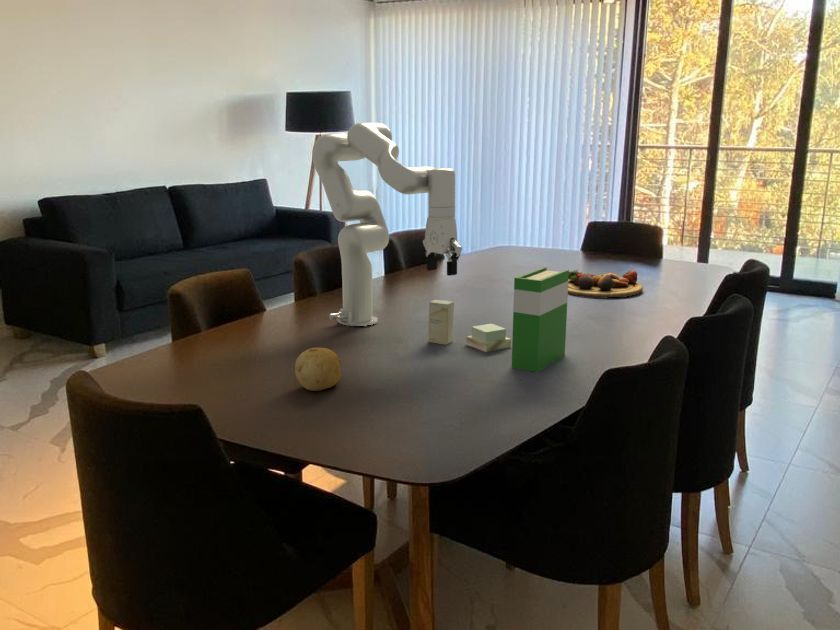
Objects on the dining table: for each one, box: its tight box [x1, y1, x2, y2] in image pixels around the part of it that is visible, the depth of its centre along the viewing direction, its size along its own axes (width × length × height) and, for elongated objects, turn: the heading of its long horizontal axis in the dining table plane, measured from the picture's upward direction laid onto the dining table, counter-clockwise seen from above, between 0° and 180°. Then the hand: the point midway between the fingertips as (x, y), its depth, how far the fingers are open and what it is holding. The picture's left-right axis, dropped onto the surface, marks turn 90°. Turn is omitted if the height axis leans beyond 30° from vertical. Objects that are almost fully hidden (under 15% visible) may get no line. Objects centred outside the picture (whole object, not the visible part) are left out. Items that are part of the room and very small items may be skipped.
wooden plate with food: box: [568, 269, 644, 299], centre depth 297 cm, size 32×32×8 cm
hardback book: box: [511, 266, 570, 373], centre depth 207 cm, size 18×7×24 cm, turn 147°
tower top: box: [471, 323, 507, 342], centre depth 222 cm, size 7×7×3 cm
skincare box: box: [427, 298, 455, 345], centre depth 226 cm, size 6×4×12 cm
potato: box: [294, 347, 342, 392], centre depth 187 cm, size 10×12×10 cm
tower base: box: [466, 335, 512, 353], centre depth 223 cm, size 9×9×3 cm
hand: (441, 272), depth 223 cm, fingers open, 9 cm apart
